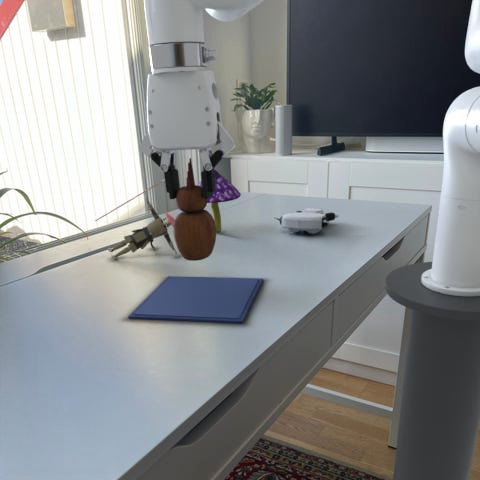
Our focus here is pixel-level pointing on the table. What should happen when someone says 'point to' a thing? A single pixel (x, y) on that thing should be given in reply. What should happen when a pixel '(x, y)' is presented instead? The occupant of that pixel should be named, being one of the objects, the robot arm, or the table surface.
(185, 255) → the wooden figurine
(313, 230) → the robot toy
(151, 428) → the table surface
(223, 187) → the decorative mushroom
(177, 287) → the blue square tray
